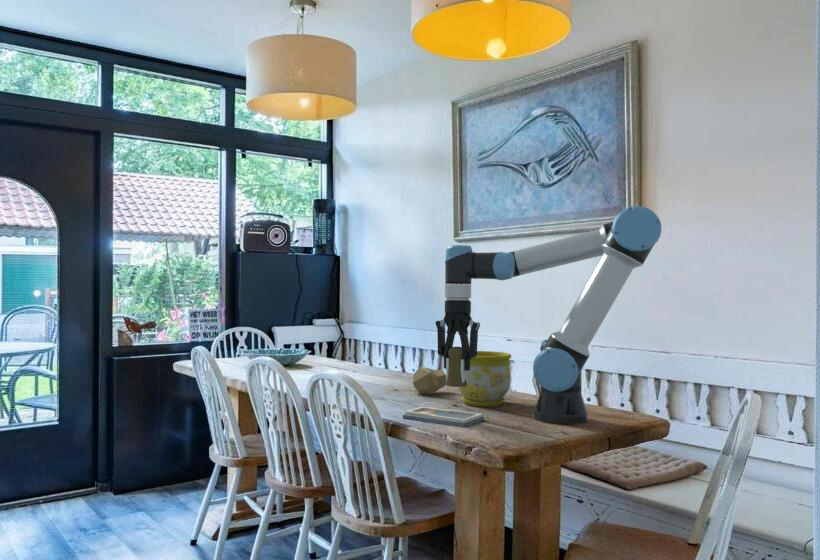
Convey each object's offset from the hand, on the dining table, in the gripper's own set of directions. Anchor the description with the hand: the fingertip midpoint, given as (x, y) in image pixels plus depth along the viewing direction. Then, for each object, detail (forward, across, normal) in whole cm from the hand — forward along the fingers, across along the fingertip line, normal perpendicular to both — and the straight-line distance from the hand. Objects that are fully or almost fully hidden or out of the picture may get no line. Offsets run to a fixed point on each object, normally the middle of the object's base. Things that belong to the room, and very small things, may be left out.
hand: (456, 381), depth 183 cm
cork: (+1, 0, 0) cm, 1 cm away
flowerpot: (+12, +6, -30) cm, 33 cm away
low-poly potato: (+12, +30, -36) cm, 49 cm away
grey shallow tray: (+11, +4, 0) cm, 12 cm away
